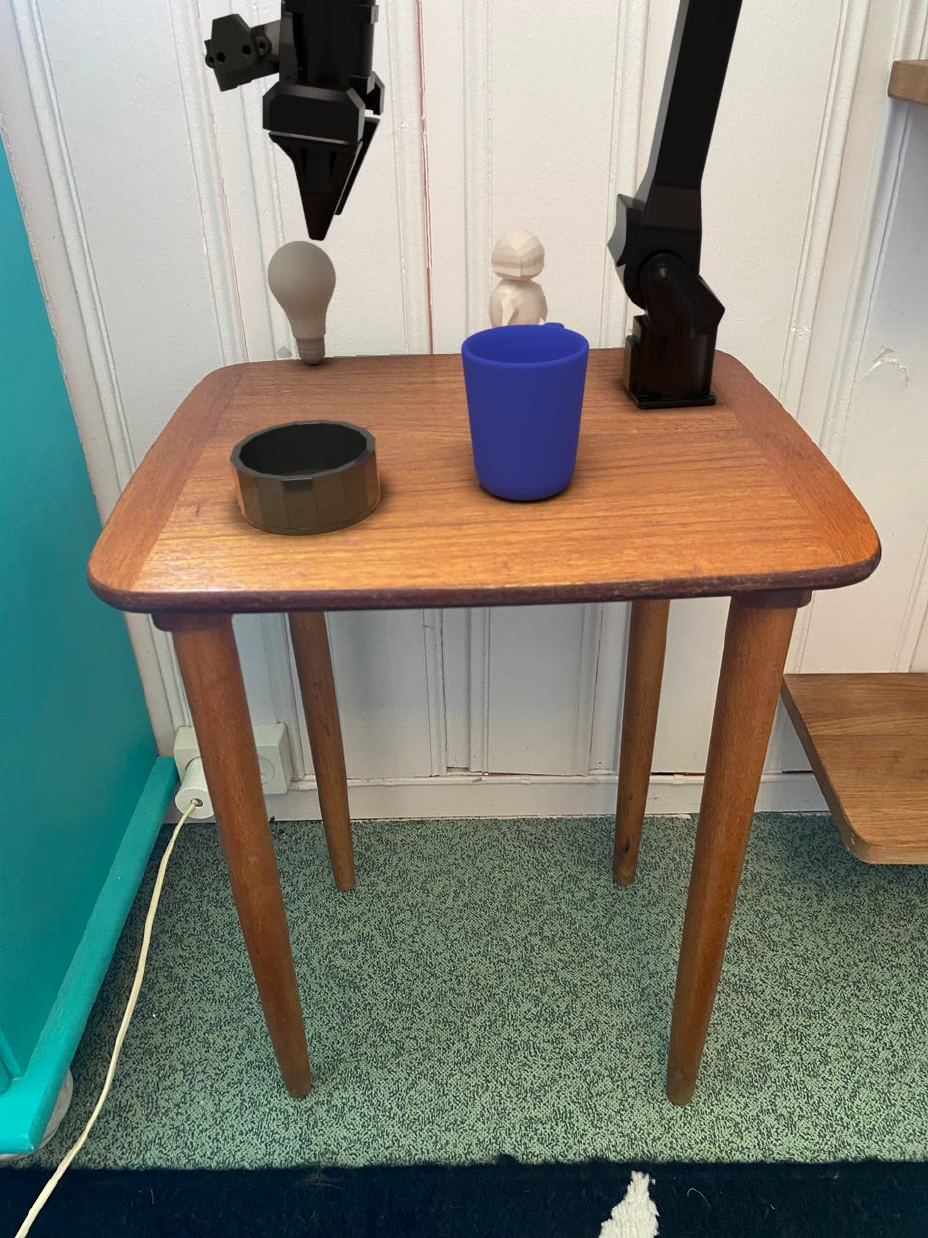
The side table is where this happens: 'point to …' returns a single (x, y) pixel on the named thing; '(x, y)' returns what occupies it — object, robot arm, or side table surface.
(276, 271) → the lightbulb
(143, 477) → the side table surface
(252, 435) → the bowl
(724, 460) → the side table surface
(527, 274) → the figurine
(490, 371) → the mug
